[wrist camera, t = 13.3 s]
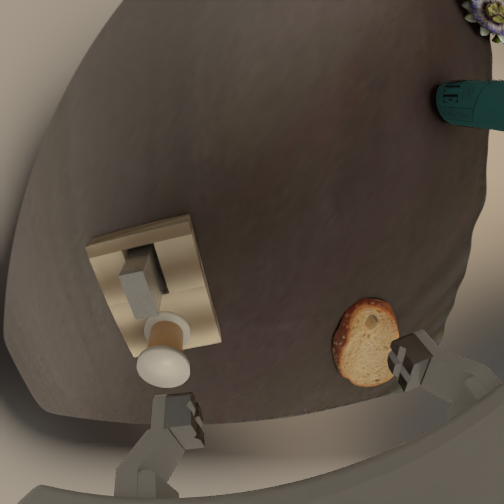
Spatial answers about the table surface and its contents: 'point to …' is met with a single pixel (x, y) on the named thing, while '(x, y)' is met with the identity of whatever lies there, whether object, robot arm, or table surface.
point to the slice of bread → (365, 342)
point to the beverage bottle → (472, 103)
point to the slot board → (175, 273)
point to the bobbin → (165, 351)
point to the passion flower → (487, 16)
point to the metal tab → (143, 281)
